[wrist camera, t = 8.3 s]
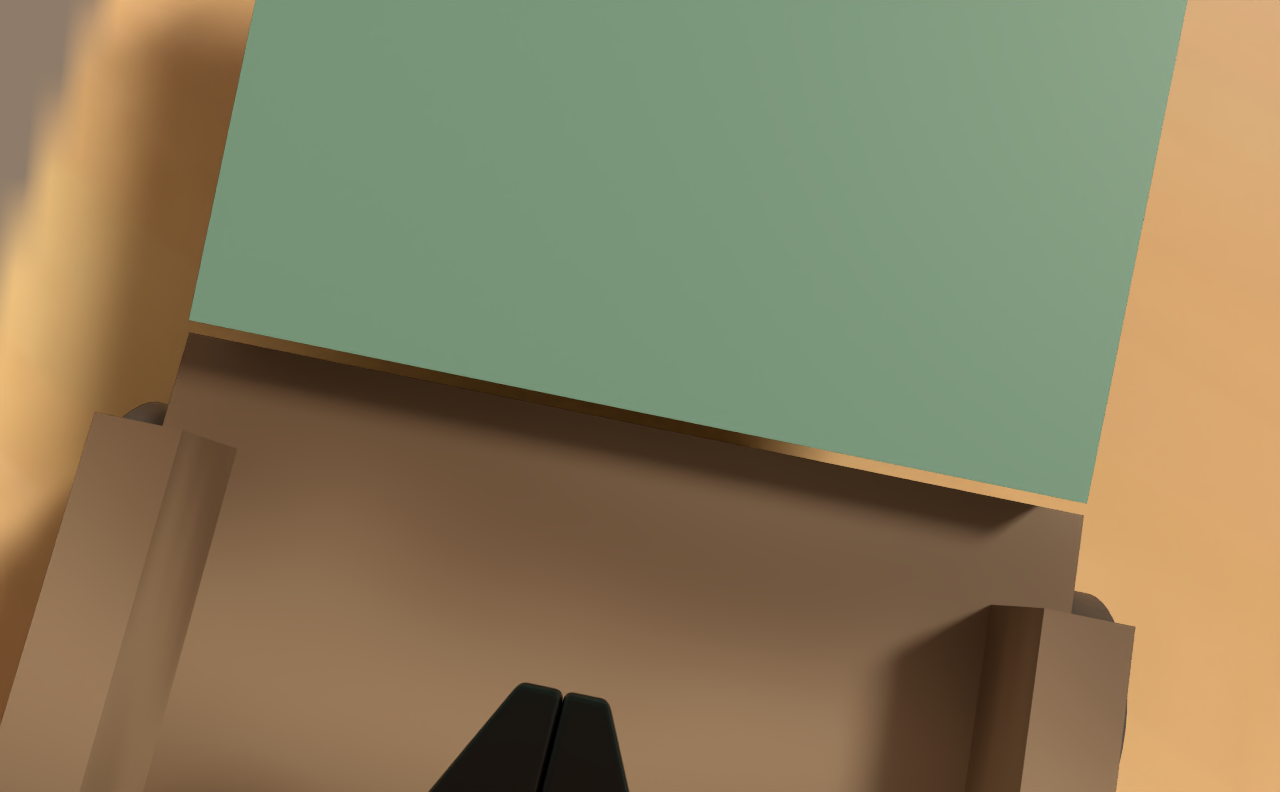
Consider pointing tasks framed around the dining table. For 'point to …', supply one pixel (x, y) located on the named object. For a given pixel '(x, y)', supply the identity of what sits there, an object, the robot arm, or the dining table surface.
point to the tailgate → (713, 209)
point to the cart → (537, 602)
